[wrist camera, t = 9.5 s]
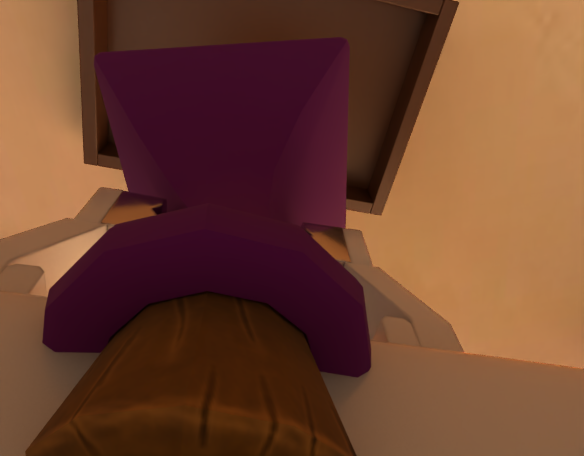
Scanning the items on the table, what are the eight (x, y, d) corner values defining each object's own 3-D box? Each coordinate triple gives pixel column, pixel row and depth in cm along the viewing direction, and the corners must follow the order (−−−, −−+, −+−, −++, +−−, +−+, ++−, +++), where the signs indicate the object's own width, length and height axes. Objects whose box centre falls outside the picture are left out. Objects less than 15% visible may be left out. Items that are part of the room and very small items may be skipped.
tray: (443, -1, 24) (460, 2, 21) (373, 198, 30) (381, 216, 28) (93, -89, 21) (72, -96, 19) (98, 148, 27) (83, 163, 25)
